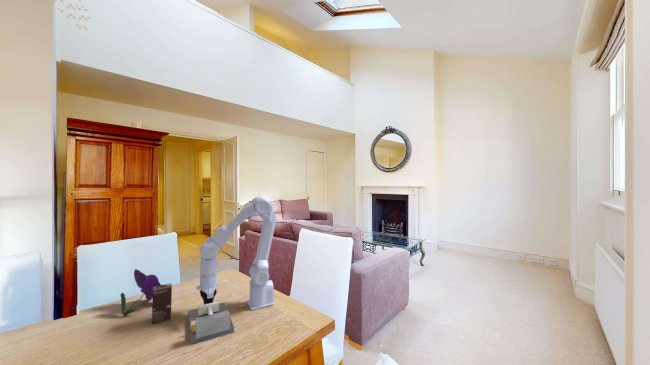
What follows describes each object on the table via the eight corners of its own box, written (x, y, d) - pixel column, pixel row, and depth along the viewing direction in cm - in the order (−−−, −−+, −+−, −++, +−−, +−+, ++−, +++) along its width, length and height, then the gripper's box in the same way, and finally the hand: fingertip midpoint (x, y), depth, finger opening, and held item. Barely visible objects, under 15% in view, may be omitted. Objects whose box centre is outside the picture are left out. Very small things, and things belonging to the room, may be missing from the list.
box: (152, 324, 89) (152, 290, 89) (152, 318, 93) (152, 286, 93) (171, 319, 93) (172, 287, 92) (171, 313, 96) (171, 282, 96)
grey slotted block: (198, 313, 93) (198, 305, 93) (218, 308, 97) (218, 301, 97) (200, 325, 86) (200, 316, 86) (222, 319, 90) (222, 311, 89)
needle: (190, 327, 85) (190, 320, 84) (214, 321, 88) (215, 314, 88) (190, 329, 84) (190, 322, 84) (215, 323, 88) (215, 315, 87)
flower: (146, 329, 95) (174, 298, 106) (126, 303, 88) (158, 273, 99) (119, 322, 99) (148, 293, 111) (98, 296, 92) (131, 268, 103)
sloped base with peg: (188, 314, 96) (188, 297, 96) (224, 305, 103) (224, 290, 103) (190, 344, 79) (191, 324, 79) (234, 332, 86) (234, 313, 86)
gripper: (195, 269, 100) (195, 303, 100) (198, 282, 88) (197, 321, 88) (214, 266, 104) (214, 299, 104) (219, 279, 91) (219, 316, 91)
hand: (208, 309), depth 96 cm, fingers closed
